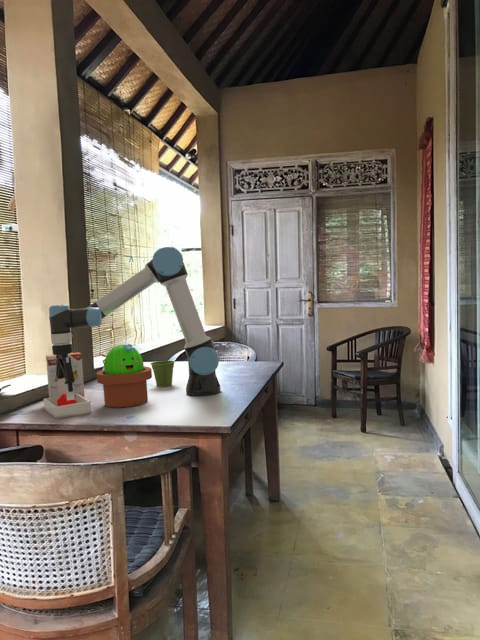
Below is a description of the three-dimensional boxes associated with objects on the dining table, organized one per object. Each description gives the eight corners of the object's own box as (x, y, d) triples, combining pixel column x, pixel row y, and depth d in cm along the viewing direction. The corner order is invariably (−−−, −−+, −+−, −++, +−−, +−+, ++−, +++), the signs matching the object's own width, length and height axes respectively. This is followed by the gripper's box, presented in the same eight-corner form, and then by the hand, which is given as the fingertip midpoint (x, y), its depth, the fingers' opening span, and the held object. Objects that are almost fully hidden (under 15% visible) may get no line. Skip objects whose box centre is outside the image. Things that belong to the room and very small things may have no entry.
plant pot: (178, 382, 247) (177, 359, 246) (173, 387, 235) (171, 363, 235) (155, 383, 248) (154, 360, 248) (148, 388, 237) (147, 364, 236)
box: (91, 412, 194) (90, 401, 194) (55, 419, 187) (54, 407, 187) (77, 403, 212) (76, 393, 211) (44, 409, 204) (43, 398, 204)
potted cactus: (93, 402, 212) (88, 344, 210) (142, 394, 223) (138, 338, 221) (107, 412, 193) (102, 348, 191) (161, 403, 204) (157, 342, 203)
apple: (53, 398, 194) (73, 388, 197) (53, 398, 200) (71, 389, 204) (62, 414, 194) (81, 404, 198) (61, 414, 201) (79, 404, 204)
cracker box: (51, 406, 210) (47, 356, 208) (49, 403, 215) (45, 355, 214) (85, 401, 216) (81, 353, 215) (82, 398, 222) (79, 351, 220)
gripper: (79, 345, 189) (84, 400, 190) (64, 340, 210) (68, 390, 212) (59, 347, 185) (64, 403, 187) (45, 343, 206) (50, 393, 208)
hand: (66, 397), depth 199 cm, fingers open, 13 cm apart
